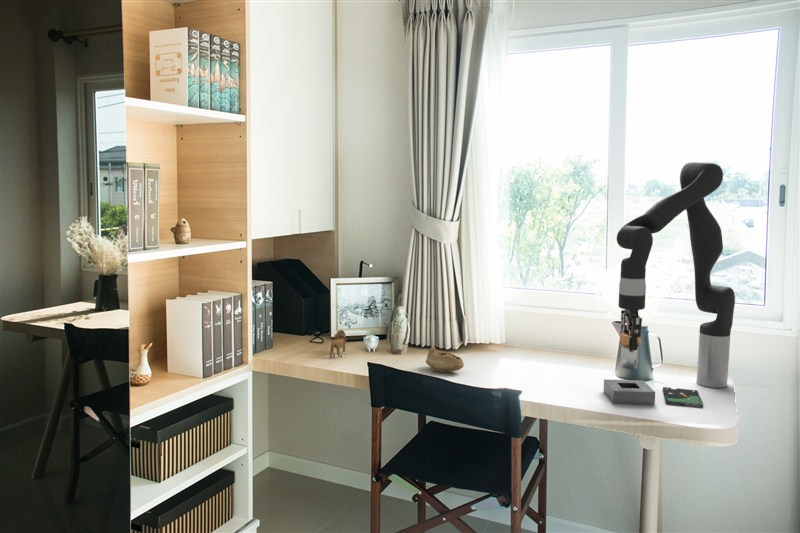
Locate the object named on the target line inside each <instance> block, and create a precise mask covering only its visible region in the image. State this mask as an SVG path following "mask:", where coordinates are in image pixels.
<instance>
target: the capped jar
mask: <svg viewBox="0 0 800 533" xmlns="http://www.w3.org/2000/svg"><path fill="white" fill-rule="evenodd" d="M629 338H630V337H629V333H624V332H620V333H619V345H620V346H621V347H620V348H621V349H620V352H621V353H620V367H621V368H622V369H626V370H637V369H638V363H639V362H638V358H639V347H640V346H641V341H642V335H641V336H640V337H639V338H638V341H637V350H630V349H629Z"/></svg>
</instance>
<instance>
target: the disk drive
mask: <svg viewBox="0 0 800 533" xmlns="http://www.w3.org/2000/svg"><path fill="white" fill-rule="evenodd" d="M662 393H663V397H664V403H665V405H668V406H677V407H678V406H679V407H689V408H696V409H697V408H699V409H704V405H703V401H702V398H701V395H700V393H699V391H698V390H697V389H688V388H679V387H677V388H676V389H675V388H671V387H669V386H668V387H666V386H663V387H662Z"/></svg>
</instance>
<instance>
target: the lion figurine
mask: <svg viewBox="0 0 800 533" xmlns="http://www.w3.org/2000/svg"><path fill="white" fill-rule="evenodd" d="M333 336H334V338H335V339H334V340H332V341H331V343H330V351H329V357H332V359H334V358H335V359H336V356H335V353H334V349H335V350H336V352H337V353H336V354H337V357H338V356H342V355H341V354H340V351H341V348H342V353H343V352H346V344H347V335H346V333H345V331H344V330H343V329H337V331H336V333H334V335H333Z"/></svg>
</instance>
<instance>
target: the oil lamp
mask: <svg viewBox="0 0 800 533" xmlns="http://www.w3.org/2000/svg"><path fill="white" fill-rule="evenodd" d="M425 363H426V364H427V366H428V367H430V368H431V369H432V371H434V372H437V373H450V372H452V371H453V372H455V371H459V370H461V369H462V368H464V366H465V364H464V362H463V359H462V357H460V356H457V355H455V354H453V353H451V352H448V351H443V350H438V349H436V347H435V346H431V347H430V349H429V350H428V354H427V356H426V359H425Z"/></svg>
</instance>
